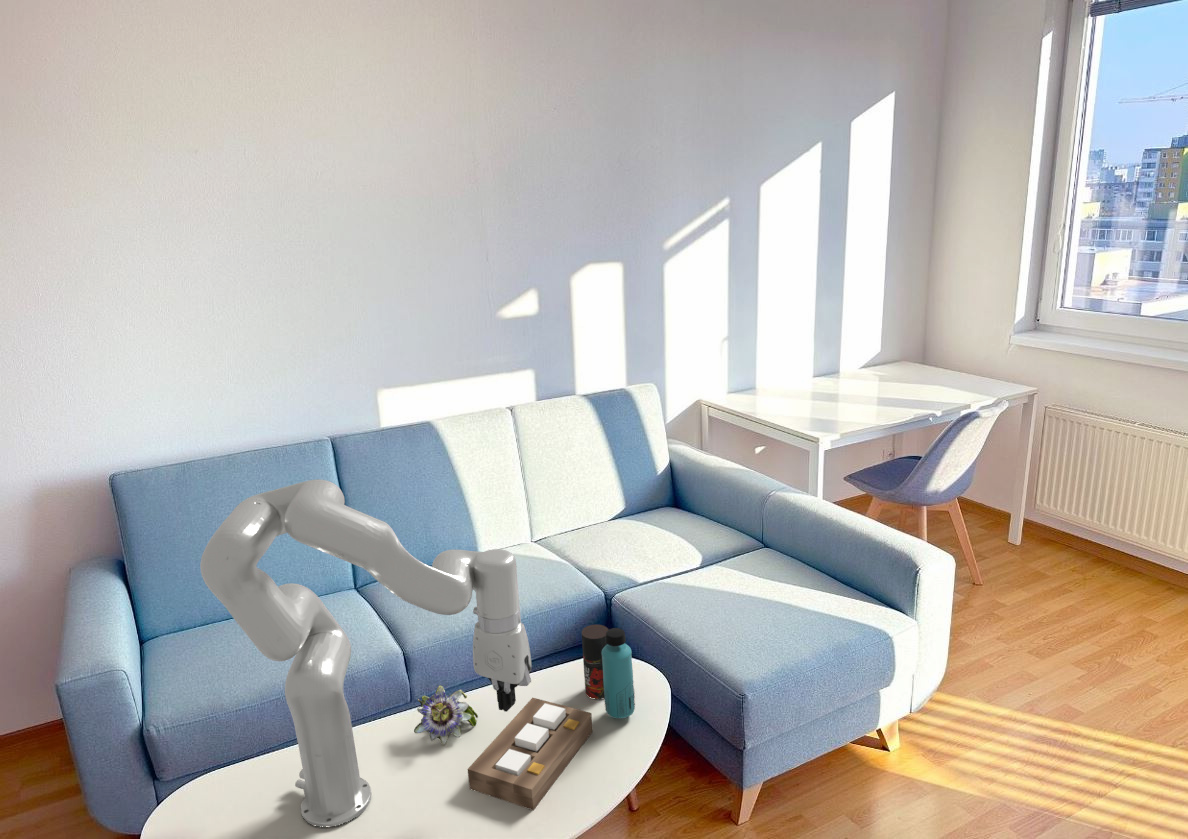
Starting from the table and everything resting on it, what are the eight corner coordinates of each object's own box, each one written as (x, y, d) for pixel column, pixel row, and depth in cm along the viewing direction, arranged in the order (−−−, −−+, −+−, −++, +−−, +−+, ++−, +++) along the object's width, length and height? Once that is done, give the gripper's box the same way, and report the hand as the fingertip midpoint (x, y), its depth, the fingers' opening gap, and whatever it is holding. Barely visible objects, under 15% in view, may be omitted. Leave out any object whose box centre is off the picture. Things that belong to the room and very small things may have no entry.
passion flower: (447, 764, 173) (409, 738, 166) (439, 725, 182) (403, 699, 176) (489, 731, 172) (452, 703, 166) (480, 694, 182) (444, 666, 175)
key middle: (515, 745, 163) (514, 737, 162) (528, 730, 167) (527, 723, 166) (536, 751, 160) (536, 743, 160) (548, 736, 164) (548, 728, 164)
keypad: (469, 789, 158) (467, 767, 156) (534, 715, 178) (532, 696, 177) (533, 810, 151) (531, 788, 150) (592, 731, 172) (591, 711, 170)
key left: (496, 772, 157) (495, 764, 156) (509, 756, 161) (509, 748, 160) (518, 779, 155) (517, 771, 154) (531, 763, 159) (530, 755, 158)
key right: (533, 724, 168) (533, 716, 168) (545, 710, 173) (544, 703, 172) (554, 730, 166) (553, 722, 166) (565, 716, 170) (565, 708, 170)
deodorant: (617, 688, 186) (613, 628, 182) (603, 702, 181) (599, 641, 177) (594, 680, 189) (590, 622, 185) (580, 694, 184) (576, 634, 180)
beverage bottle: (633, 726, 173) (629, 641, 167) (601, 724, 174) (596, 639, 168) (637, 707, 179) (634, 624, 173) (607, 705, 180) (602, 622, 175)
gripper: (452, 620, 149) (461, 708, 154) (524, 636, 142) (531, 728, 148) (476, 600, 155) (484, 686, 161) (546, 616, 149) (552, 704, 154)
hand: (507, 706), depth 154 cm, fingers closed
